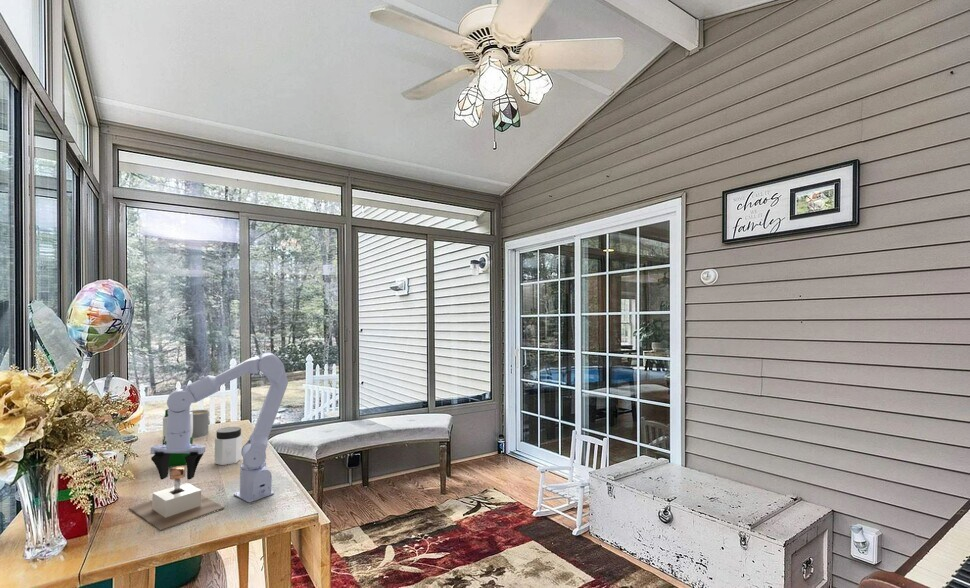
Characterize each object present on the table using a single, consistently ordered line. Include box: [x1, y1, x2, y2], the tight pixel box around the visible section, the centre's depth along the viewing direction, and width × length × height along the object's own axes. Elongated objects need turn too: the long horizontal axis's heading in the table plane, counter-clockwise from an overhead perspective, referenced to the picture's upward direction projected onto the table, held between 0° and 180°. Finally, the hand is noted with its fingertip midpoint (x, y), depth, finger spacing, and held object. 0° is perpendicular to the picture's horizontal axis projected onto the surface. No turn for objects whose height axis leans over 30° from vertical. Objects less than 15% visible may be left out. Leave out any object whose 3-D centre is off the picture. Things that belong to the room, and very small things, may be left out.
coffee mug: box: [190, 409, 210, 438], centre depth 202 cm, size 13×10×10 cm
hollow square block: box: [151, 482, 202, 518], centre depth 130 cm, size 9×9×5 cm
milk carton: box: [162, 408, 194, 468], centre depth 167 cm, size 9×9×20 cm
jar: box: [213, 426, 243, 466], centre depth 169 cm, size 9×8×12 cm
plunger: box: [169, 465, 186, 494], centre depth 130 cm, size 4×4×7 cm
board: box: [128, 494, 225, 532], centre depth 130 cm, size 22×16×1 cm
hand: (177, 478), depth 130 cm, fingers open, 7 cm apart
